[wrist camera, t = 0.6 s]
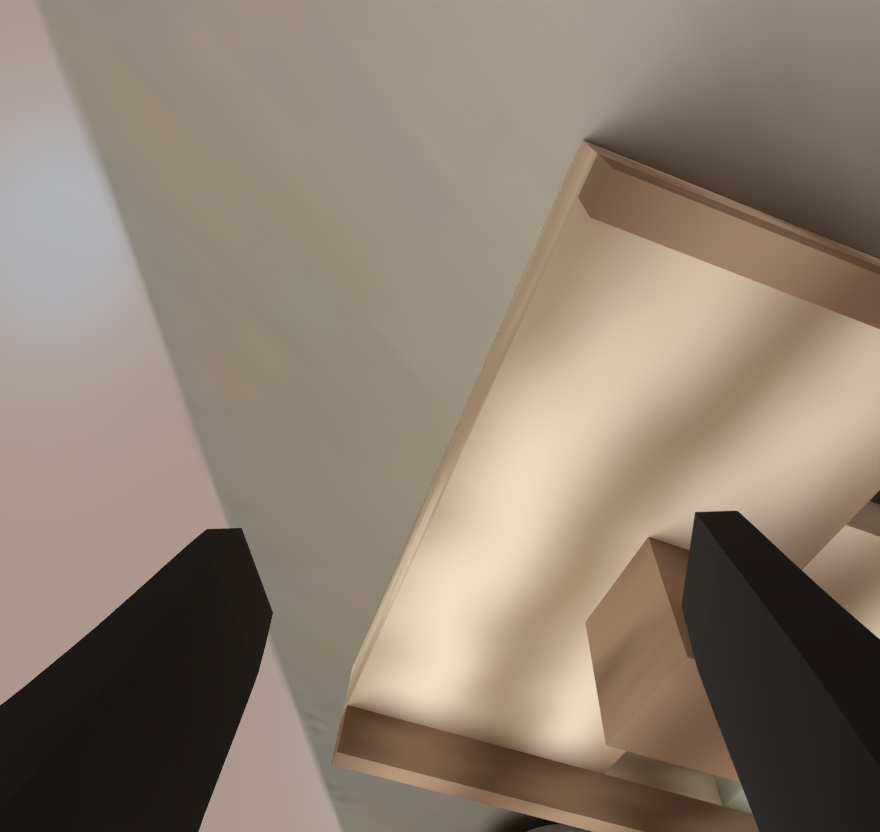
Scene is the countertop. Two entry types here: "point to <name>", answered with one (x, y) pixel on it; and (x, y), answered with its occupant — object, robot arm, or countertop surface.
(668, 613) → the walnut block
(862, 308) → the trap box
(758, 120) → the countertop surface
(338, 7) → the countertop surface
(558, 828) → the cereal bowl
